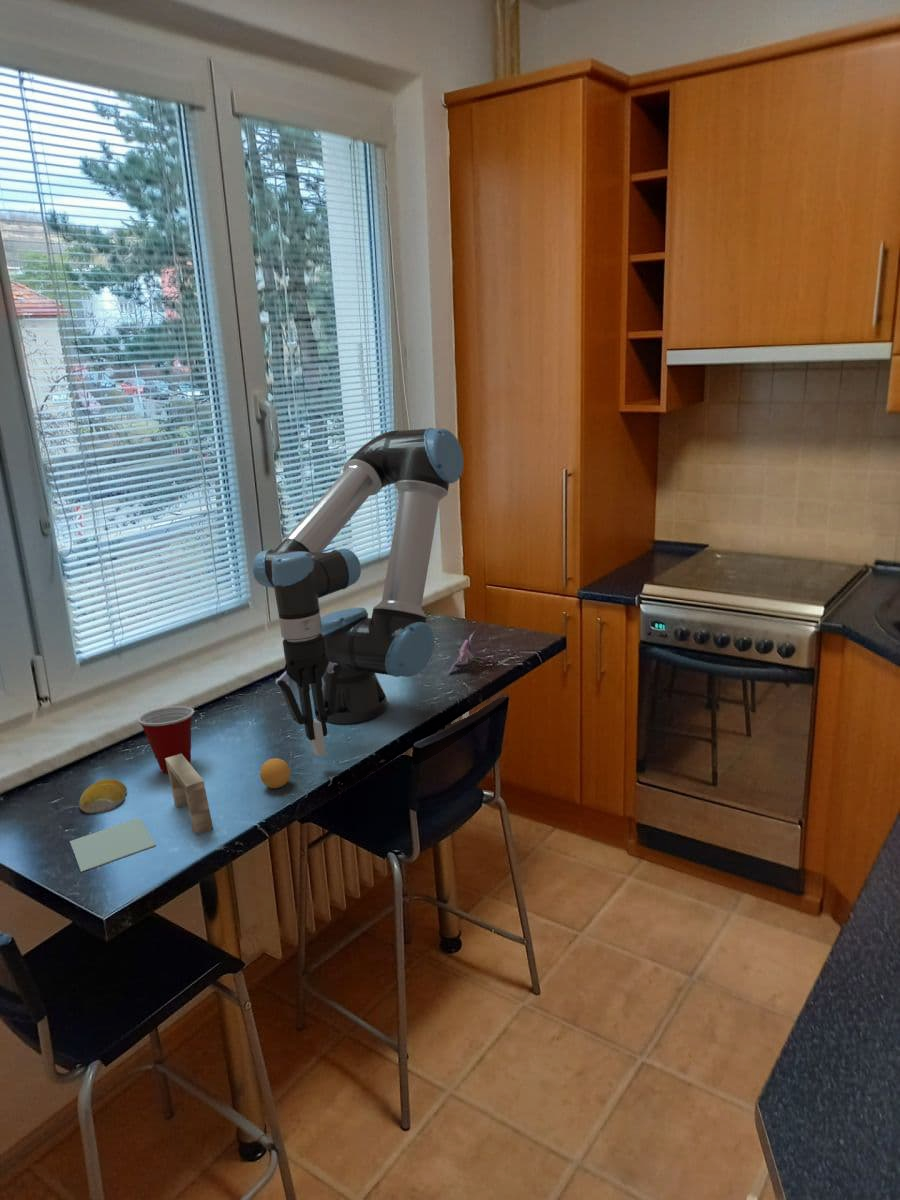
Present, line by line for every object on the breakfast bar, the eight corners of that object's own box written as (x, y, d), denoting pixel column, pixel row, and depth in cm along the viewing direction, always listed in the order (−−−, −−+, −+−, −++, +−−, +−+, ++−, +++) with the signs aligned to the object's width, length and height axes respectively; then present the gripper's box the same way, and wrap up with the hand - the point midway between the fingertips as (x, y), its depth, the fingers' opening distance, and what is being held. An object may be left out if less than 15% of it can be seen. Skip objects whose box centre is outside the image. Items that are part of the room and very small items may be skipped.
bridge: (190, 798, 161) (181, 753, 159) (213, 828, 149) (203, 780, 146) (174, 803, 160) (165, 758, 157) (196, 835, 147) (186, 786, 145)
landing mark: (140, 818, 155) (140, 817, 155) (155, 845, 145) (155, 844, 145) (69, 842, 150) (69, 841, 150) (81, 872, 140) (80, 871, 140)
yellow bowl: (129, 787, 169) (125, 769, 168) (123, 809, 160) (119, 790, 159) (85, 796, 167) (81, 777, 166) (76, 818, 159) (72, 798, 158)
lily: (472, 660, 221) (450, 632, 219) (505, 649, 213) (483, 619, 211) (451, 690, 213) (428, 661, 211) (484, 679, 205) (461, 649, 203)
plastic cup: (215, 759, 176) (205, 705, 173) (175, 783, 168) (163, 727, 164) (178, 752, 182) (168, 699, 179) (137, 775, 173) (125, 720, 170)
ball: (285, 776, 166) (281, 750, 164) (296, 786, 161) (292, 760, 159) (258, 786, 163) (253, 759, 161) (268, 796, 158) (263, 769, 157)
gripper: (276, 648, 153) (294, 770, 159) (342, 632, 159) (358, 749, 165) (262, 640, 159) (280, 756, 165) (326, 624, 166) (342, 737, 171)
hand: (319, 752), depth 165 cm, fingers closed
